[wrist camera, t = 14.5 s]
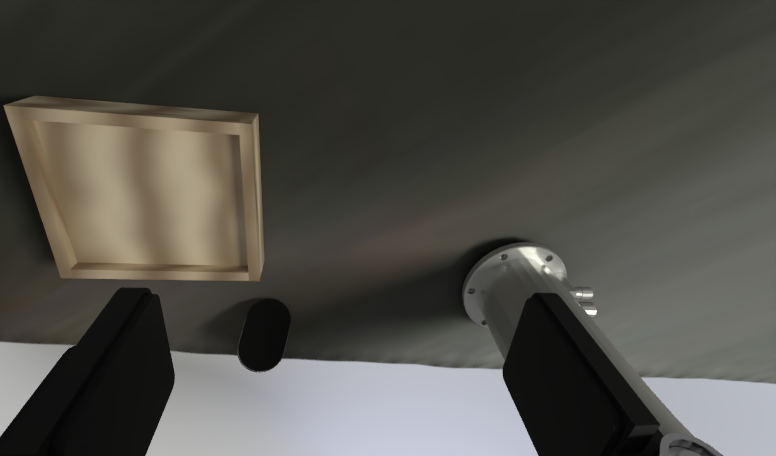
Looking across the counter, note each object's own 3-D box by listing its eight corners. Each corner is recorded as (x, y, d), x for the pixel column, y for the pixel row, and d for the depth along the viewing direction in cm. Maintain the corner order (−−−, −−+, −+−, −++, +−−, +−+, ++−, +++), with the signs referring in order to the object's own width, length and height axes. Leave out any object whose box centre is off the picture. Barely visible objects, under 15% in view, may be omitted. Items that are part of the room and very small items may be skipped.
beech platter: (258, 113, 37) (251, 123, 33) (264, 260, 44) (259, 281, 41) (34, 95, 34) (3, 105, 30) (82, 256, 41) (61, 278, 38)
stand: (252, 294, 46) (231, 367, 42) (295, 304, 47) (279, 375, 43) (245, 312, 52) (226, 376, 48) (283, 320, 53) (268, 383, 49)
